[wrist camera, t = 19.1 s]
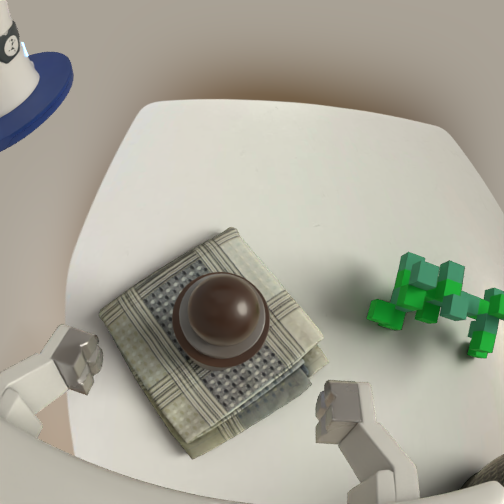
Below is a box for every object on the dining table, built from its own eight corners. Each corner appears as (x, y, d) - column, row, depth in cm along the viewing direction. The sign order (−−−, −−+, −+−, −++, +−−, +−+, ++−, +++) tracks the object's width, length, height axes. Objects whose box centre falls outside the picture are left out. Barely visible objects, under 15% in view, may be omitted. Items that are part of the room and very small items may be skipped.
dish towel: (96, 313, 30) (86, 307, 28) (232, 229, 36) (235, 216, 33) (196, 462, 26) (195, 471, 23) (333, 362, 32) (345, 360, 29)
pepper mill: (181, 366, 27) (154, 354, 13) (189, 308, 30) (174, 236, 15) (241, 374, 28) (282, 371, 13) (247, 316, 30) (290, 253, 15)
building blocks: (354, 376, 35) (395, 355, 23) (350, 281, 41) (380, 227, 30) (481, 363, 34) (542, 336, 22) (469, 283, 40) (518, 238, 28)
